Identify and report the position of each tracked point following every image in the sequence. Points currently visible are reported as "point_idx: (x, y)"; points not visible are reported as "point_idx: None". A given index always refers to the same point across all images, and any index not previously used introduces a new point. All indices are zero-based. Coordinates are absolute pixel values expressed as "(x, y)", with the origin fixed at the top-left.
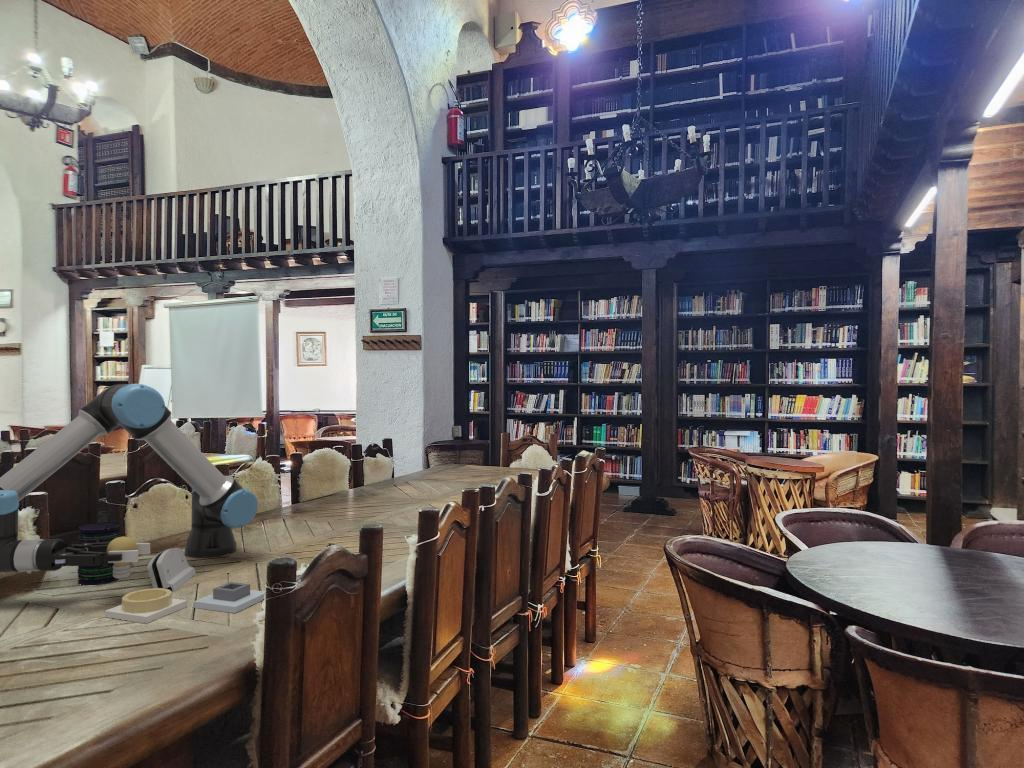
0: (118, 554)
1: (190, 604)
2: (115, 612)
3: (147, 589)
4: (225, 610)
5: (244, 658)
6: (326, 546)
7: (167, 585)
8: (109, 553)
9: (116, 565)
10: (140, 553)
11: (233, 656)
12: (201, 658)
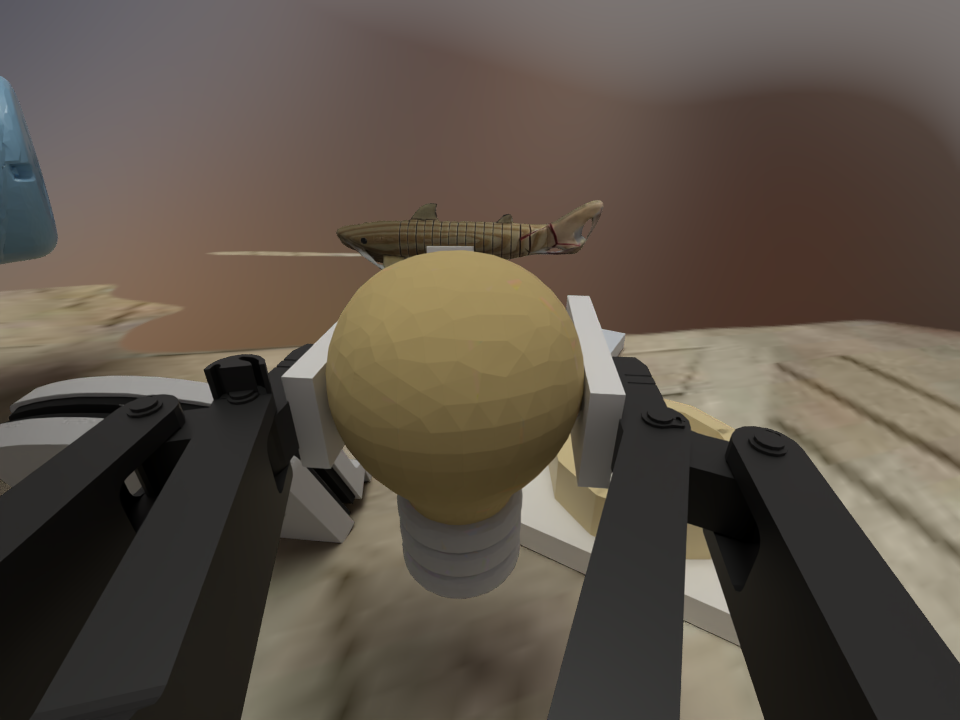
0: (621, 366)
1: None
2: None
3: (570, 459)
4: (616, 355)
5: (854, 323)
6: (366, 228)
7: (361, 475)
8: (621, 404)
9: (509, 496)
10: None
11: (857, 331)
12: (904, 356)
